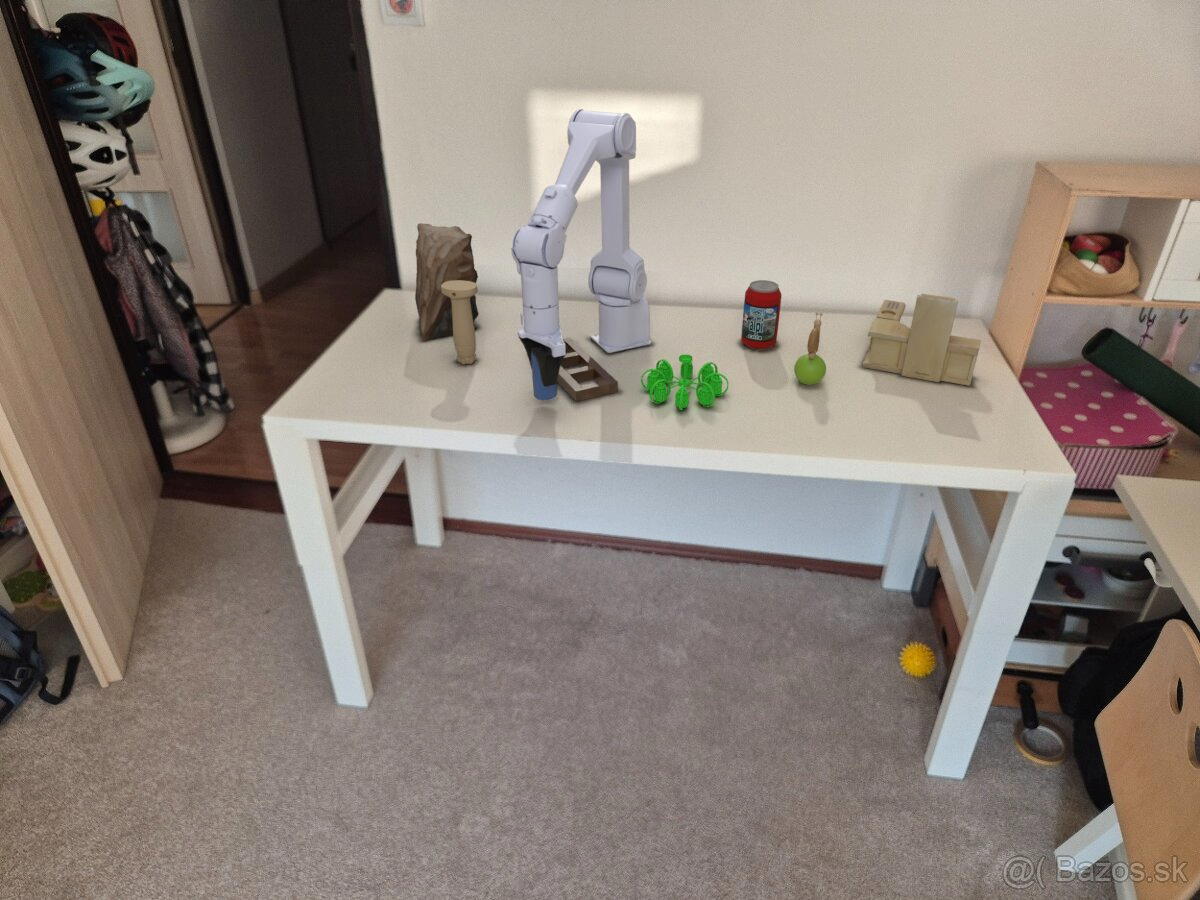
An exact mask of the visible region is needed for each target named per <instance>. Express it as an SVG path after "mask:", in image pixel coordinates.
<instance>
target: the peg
mask: <svg viewBox="0 0 1200 900" xmlns="http://www.w3.org/2000/svg"><path fill="white" fill-rule="evenodd" d="M531 361H532V369H531V374H532V375H531V377H532V378H531V379H532V392H533V397H534V399H536V400H539V401H551V400H554V399H555V398H556V397H557V396H558V382H556V384H555V385H551V386H546V387H545V386H544V385H543V383H542V379H541V374H540V369H539V365H538V362H537V359H536V357H535V355H534V354H533V352H532V351H531Z"/></svg>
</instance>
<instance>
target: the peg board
mask: <svg viewBox="0 0 1200 900" xmlns="http://www.w3.org/2000/svg"><path fill="white" fill-rule="evenodd" d="M562 339H563V342H564V343H565V345H566V346H567V347H568V352H567V354H566V355H565V357H564V359H563V361H562V363H561V366H560V369H559V374H558V378H557V384H559V385H560V387H562V389H563V390H564V391H565V392H566V393H567V394H568V395H569V396H570V397H571V398H572V399H573V400H574V401H575V403H576V402H577V403H578V402H581V401H585V400H589V399H595V398H598V397H602V396H606V395H611V394H615V393H618V392H619V381H618V380H616V379H615V377H613V376H612V375H611V374H610V373H609V372H608V371H607V370H606V369H605V368H604V367H603V366H602V365H600V363H598V362H597V361H596V360H595V359H594V358H593V357H592V356H591V355H590V354H589V353H588V352H587V351H586V350H584V349H583V348H582V347H581V346H580V345H579V344H578V343H577V342H576V341H574V340H573V338H572V337H571V336H569V337H564V338H562ZM574 366H581V367H576V368H572V369H567V370H566V369H565V368H570V367H574ZM590 380H595V381H596V382H592V383H586V384H582V385H581V384H580V383H581V382H586V381H590Z"/></svg>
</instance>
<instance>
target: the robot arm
mask: <svg viewBox="0 0 1200 900" xmlns="http://www.w3.org/2000/svg"><path fill="white" fill-rule="evenodd" d="M636 123H637V122H636V121H635V120H634V118H633V117H632V116H631V114H630V113H628V112H622V113H619V112H607V111H598V110H596V111H595V110H584V109H583V108H578V109H575V110H574V112H573V113H572V114H571V116H570V118H569V121H568V126H567V129H566V130H567V134H566V135H567V144H568V148H567V151H566V154H565V156H564V159H563V162H562V164H561V167H560V170H559V172H558V175H557V177H556V180H555V182H554V184H552V185H548V186H546V187H545V188H544V189H543V192H542V194H541V196H540V198H539V200H538V202H537V203H536V206H535V208H534V210H533V212H532V214H531V216H530V218H529V220H528V222H527V225H523V226H522V227H519V228H518V229H517V230H516V232H514V235H513V239H512V246H511V248H510V250H511V252H510V253H511V256H512V259H513V260H514V262H515V264H516V272H517V273H518V274H519V276H520V281H521V282H520V283H521V297H522V299H521V300H522V312H521V313H520V325H521V326H522V329H521V328H520V329H518V330H517V336H518V339H519V340H520V342H521V343H522V345H523V347H524V349H525V352H526V354H527V355H526V356H527V358H528V361H529V365H530V369H531V370H532V361H531V351H532V352H533V354H534V355H535V357H536V359H537V362H538V365H539V369H540V374H541V379H542V383H543V385H544V386H545V387H546V386H551V385H555V384H556V382H557V378H558V374H559V369H560V366H561V363H562V361H563V359H564V357H565V355H566V354H567V352H568V347H567V346H566V345H565V343H564V342H563V339H564V338H563V334H562V333H563V332H562V327H561V325H560V300H559V274H558V271H559V270H558V266H559V264H560V263H561V261H562V259H563V257H564V254H565V245H566V241H567V233H566V232H567V230H568V227H569V225H570V223H571V221H572V219H573V217H574V215H575V213H576V211H577V209H578V206H579V204H578V199H577V197H576V194H577V193H578V192H579V189H580V188H581V186H582V184H583V183H584V181H585V179H586V177H587V176H588V174H589V172H590V170H591V169H592V168H593V166H594V164H595V162H597V163H598V164H599V167H600V169H599V170H600V211H601V212H600V213H601V215H600V216H601V217H600V218H601V250H599V251H598V252H597V253H595V254H594V255H593V256H592V258H591V260H590V267H589V274H588V280H587V283H588V284H587V285H588V288H589V291H590V292H591V294H592V295H594V298H595V301H598V333H597V334H593V335H591V336H590V338H591V339H592V341H593V342H594V343H596V344H597V345H598V346H599V347H600V348H601V349H602V350H604V351H605V352H606V353H607V354H611V353H617V352H620V351H625V350H629V349H634V348H640V347H644V346H649V345H651V344H652V341H651V340H650V331H651V328H650V327H651V310H650V309H651V308H650V304H649V302H648V300H647V298H646V297H645V296H644V294H645V292H646V289H647V283H648V278H647V277H648V276H647V273H646V270H645V260H644V259H643V257H642V256H640V255H639V254H638V253H637V252H635V250H633V248H631V246H630V160H633V159H636V158H637V157H636V156H637V155H636V153H637V124H636ZM557 383H558V382H557Z"/></svg>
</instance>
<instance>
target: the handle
mask: <svg viewBox="0 0 1200 900" xmlns="http://www.w3.org/2000/svg"><path fill="white" fill-rule="evenodd" d="M441 290H442V293H443V294H444V295H446V296H448V297H450V298H451V303H452V318H453V344H454V349H455V352H456V357H457V361H458V363H461V364H462V365H463V366H464V365H465V366H466V365H469V364H470V365H472V364H473V363H475V361H476V358H477V355H476V349H477V347H476V346H477V345H476V344H477V339H476V330H475V329H474V324H475V323H474V324H473V318H472V311H471V304H470V297H472V296H474V295H475V296H476V294H477V293H478V291H479V290H478V284H477V282H476V283H474V282H470V281H463V280H454V281H447V282H445V283H443V284H442V285H441Z"/></svg>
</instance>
